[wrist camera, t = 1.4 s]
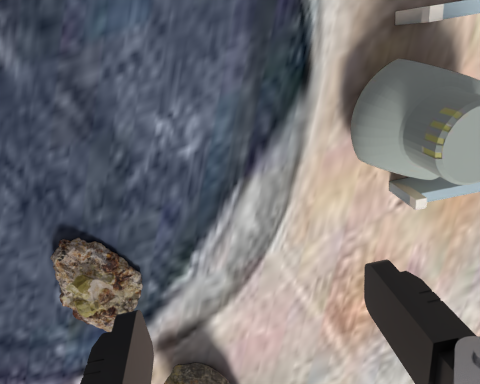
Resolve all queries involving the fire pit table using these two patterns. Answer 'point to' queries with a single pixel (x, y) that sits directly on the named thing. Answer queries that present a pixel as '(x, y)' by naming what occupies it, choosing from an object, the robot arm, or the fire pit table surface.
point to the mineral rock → (95, 282)
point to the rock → (195, 375)
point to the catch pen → (439, 188)
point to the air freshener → (420, 123)
